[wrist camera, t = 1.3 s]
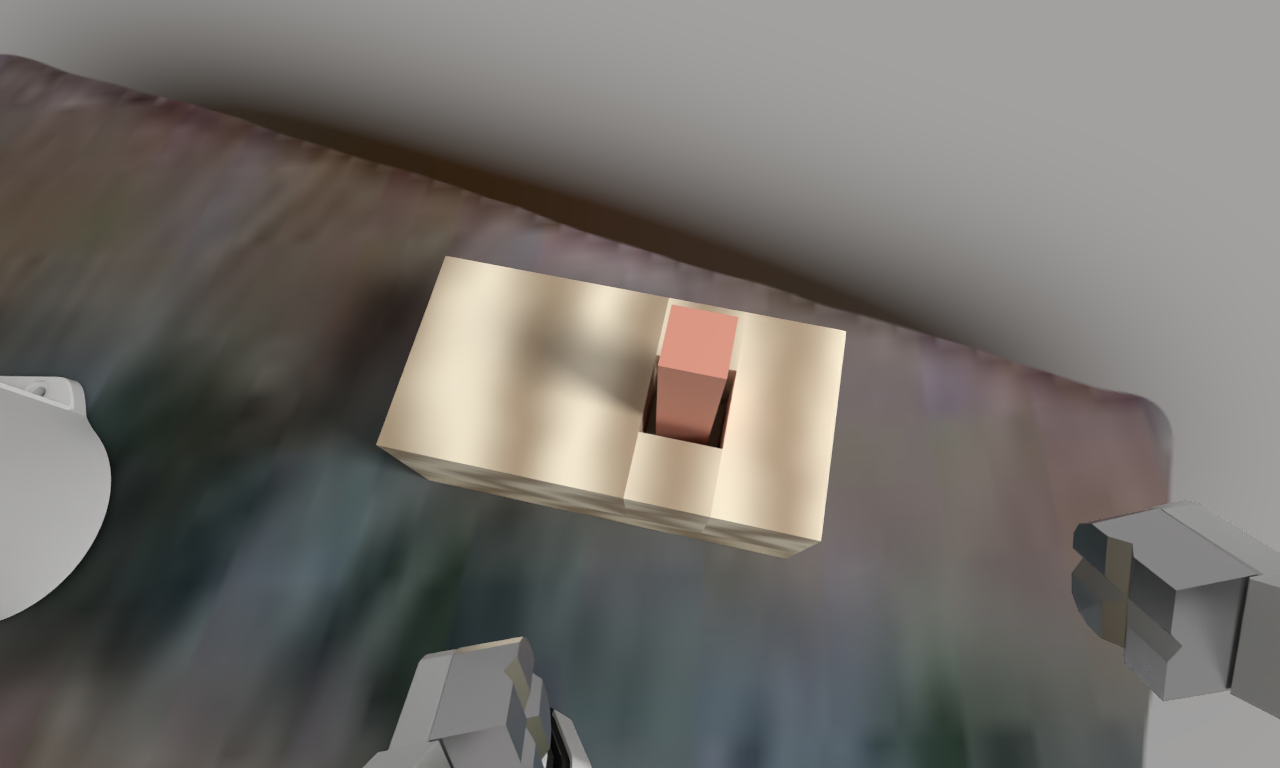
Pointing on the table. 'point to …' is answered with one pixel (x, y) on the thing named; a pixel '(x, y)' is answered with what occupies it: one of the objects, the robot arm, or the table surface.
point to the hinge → (564, 745)
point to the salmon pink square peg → (693, 372)
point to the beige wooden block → (615, 409)
